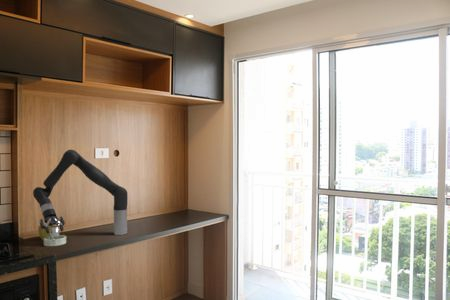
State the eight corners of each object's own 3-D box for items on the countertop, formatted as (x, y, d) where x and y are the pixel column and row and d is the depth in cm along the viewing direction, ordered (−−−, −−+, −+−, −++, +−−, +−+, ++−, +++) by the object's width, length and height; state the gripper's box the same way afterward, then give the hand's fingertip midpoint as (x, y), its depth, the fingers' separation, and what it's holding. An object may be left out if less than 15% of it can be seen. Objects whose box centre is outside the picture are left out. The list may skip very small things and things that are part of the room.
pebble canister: (51, 241, 236) (51, 225, 236) (60, 241, 237) (60, 225, 237) (49, 243, 231) (49, 227, 231) (58, 242, 232) (58, 227, 232)
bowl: (47, 242, 239) (47, 235, 239) (68, 240, 242) (68, 234, 242) (41, 246, 226) (41, 240, 226) (63, 245, 229) (63, 239, 229)
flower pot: (40, 241, 242) (40, 227, 242) (37, 239, 249) (37, 225, 249) (54, 239, 247) (54, 226, 247) (51, 237, 254) (51, 224, 254)
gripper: (38, 209, 235) (45, 229, 227) (60, 207, 245) (68, 226, 237) (35, 216, 238) (42, 237, 230) (57, 214, 249) (65, 233, 241)
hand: (55, 231), depth 234 cm, fingers open, 8 cm apart
